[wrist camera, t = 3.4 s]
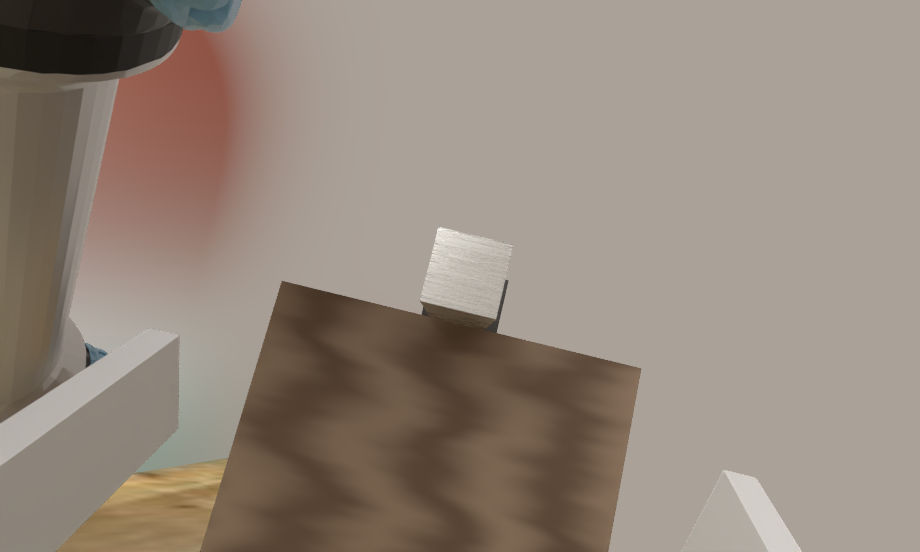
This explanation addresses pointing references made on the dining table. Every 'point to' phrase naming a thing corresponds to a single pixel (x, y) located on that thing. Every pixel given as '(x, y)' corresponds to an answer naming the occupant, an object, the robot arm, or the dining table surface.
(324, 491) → the pedestal
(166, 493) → the dining table surface
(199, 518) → the dining table surface
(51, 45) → the robot arm
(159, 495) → the dining table surface
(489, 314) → the light grey rectangular bar
